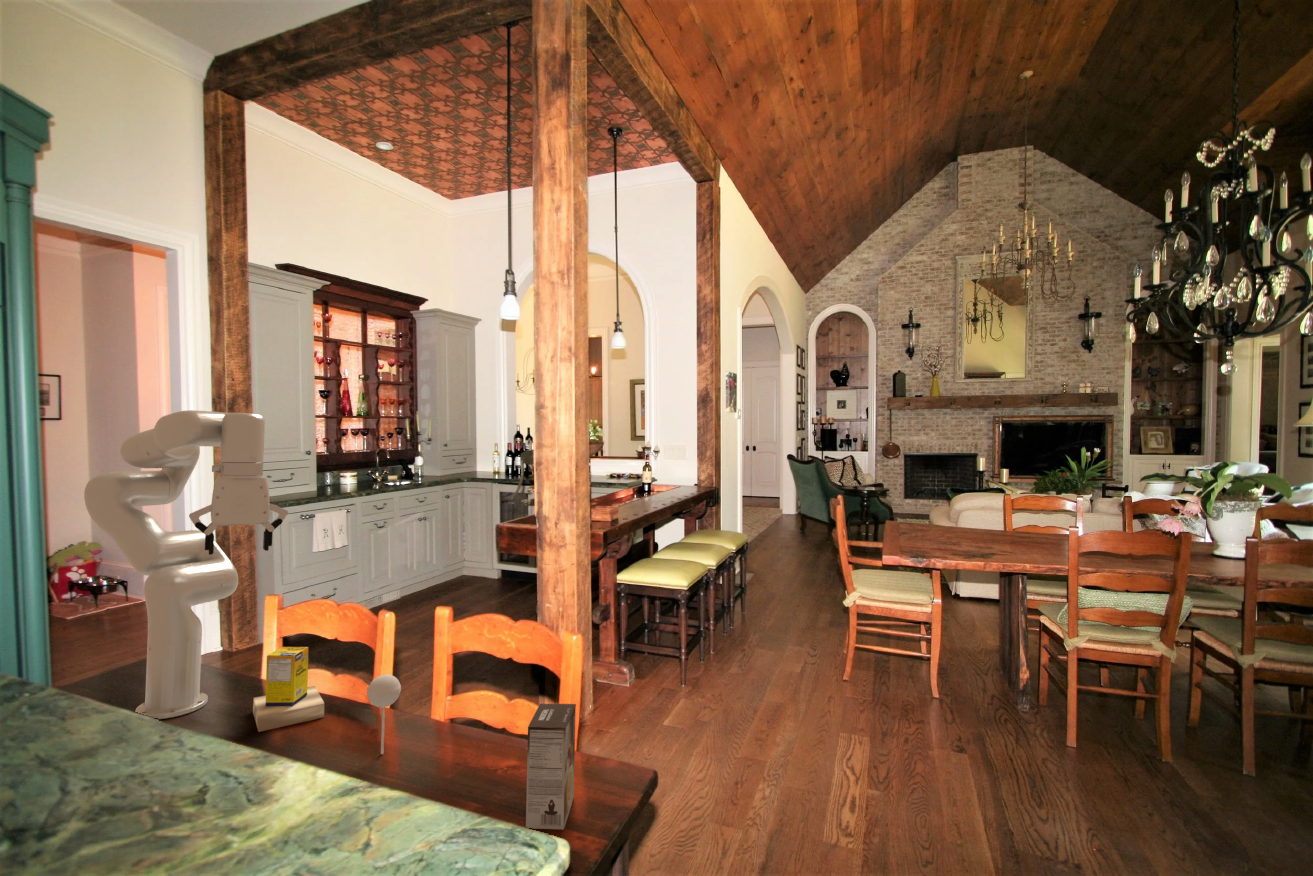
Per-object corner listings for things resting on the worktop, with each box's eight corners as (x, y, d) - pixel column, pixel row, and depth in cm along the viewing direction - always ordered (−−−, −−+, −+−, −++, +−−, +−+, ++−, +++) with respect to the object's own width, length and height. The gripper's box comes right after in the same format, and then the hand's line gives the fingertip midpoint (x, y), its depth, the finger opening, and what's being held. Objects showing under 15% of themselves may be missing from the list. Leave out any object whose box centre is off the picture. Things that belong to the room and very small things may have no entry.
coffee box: (537, 796, 104) (539, 701, 104) (574, 797, 104) (576, 703, 104) (524, 829, 95) (527, 725, 95) (565, 831, 95) (567, 727, 95)
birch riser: (252, 711, 134) (253, 698, 134) (314, 699, 142) (314, 686, 142) (258, 732, 125) (258, 717, 125) (323, 717, 132) (324, 703, 132)
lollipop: (406, 749, 119) (408, 672, 119) (383, 764, 113) (386, 683, 114) (380, 744, 121) (383, 668, 121) (357, 758, 115) (360, 678, 116)
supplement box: (307, 695, 136) (309, 646, 137) (293, 706, 130) (294, 655, 131) (280, 695, 136) (282, 646, 136) (264, 706, 130) (266, 655, 130)
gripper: (191, 471, 121) (187, 558, 120) (291, 471, 132) (288, 550, 131) (190, 470, 127) (187, 552, 126) (286, 470, 137) (284, 546, 137)
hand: (238, 551), depth 129 cm, fingers open, 9 cm apart
